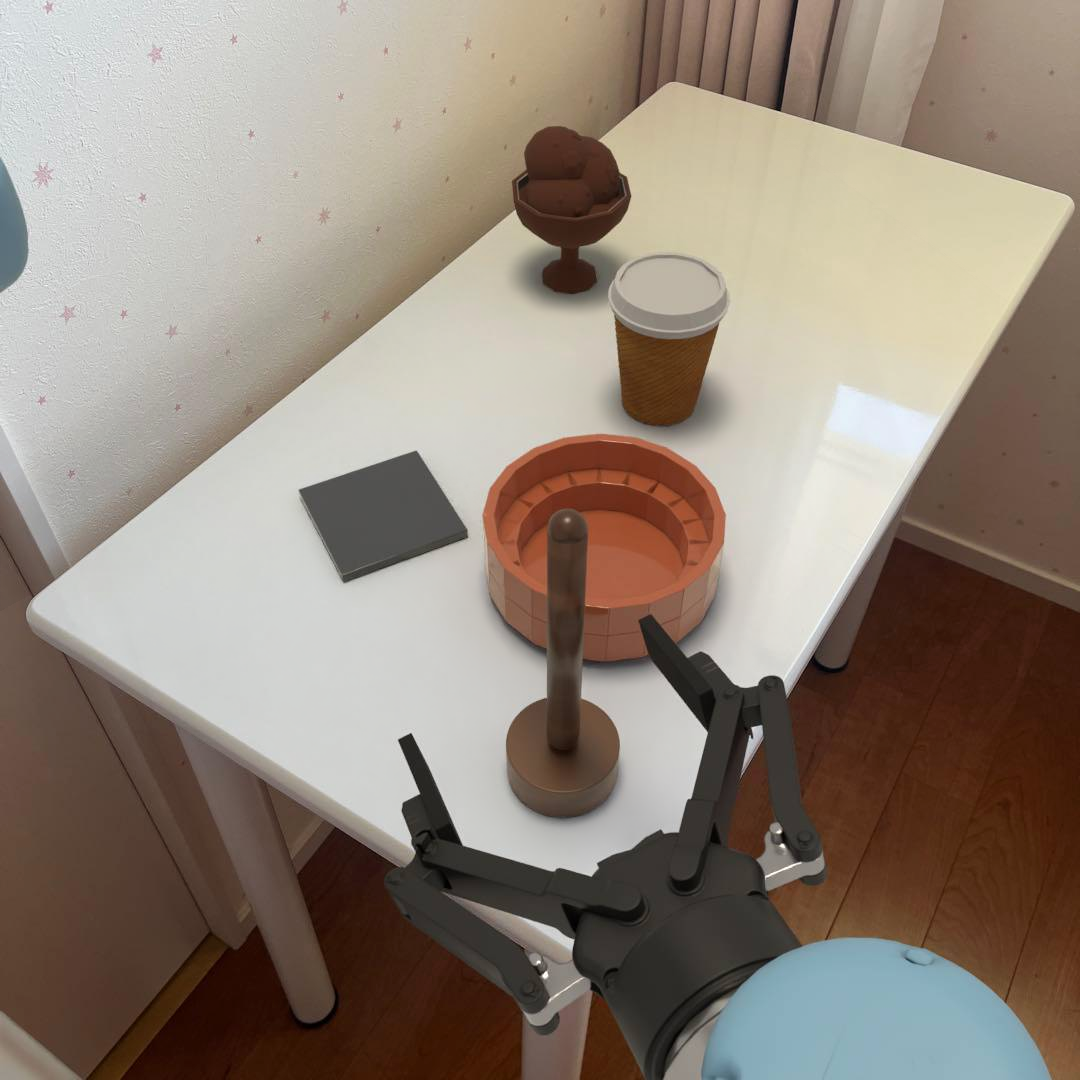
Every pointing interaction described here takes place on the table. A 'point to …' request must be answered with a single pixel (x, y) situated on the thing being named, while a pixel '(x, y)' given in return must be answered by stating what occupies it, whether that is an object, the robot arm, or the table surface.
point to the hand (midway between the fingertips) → (533, 693)
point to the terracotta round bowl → (607, 539)
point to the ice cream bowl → (569, 200)
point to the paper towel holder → (563, 697)
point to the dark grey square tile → (381, 515)
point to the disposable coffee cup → (665, 332)
